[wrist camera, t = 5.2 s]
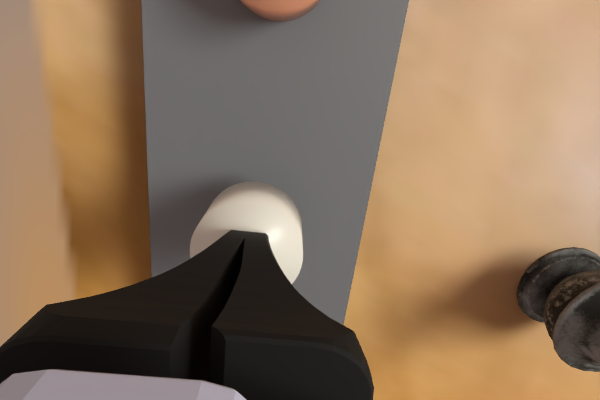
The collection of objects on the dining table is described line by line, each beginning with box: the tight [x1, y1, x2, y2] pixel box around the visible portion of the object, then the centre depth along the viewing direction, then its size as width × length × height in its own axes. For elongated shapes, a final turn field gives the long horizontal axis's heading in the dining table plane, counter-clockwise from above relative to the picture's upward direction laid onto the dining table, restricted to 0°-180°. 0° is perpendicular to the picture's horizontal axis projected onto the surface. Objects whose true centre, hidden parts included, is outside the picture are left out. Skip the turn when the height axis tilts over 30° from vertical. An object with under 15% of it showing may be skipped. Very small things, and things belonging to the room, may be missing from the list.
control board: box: [141, 0, 409, 325], centre depth 15 cm, size 24×10×2 cm, turn 173°
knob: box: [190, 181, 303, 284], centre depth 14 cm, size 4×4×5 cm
